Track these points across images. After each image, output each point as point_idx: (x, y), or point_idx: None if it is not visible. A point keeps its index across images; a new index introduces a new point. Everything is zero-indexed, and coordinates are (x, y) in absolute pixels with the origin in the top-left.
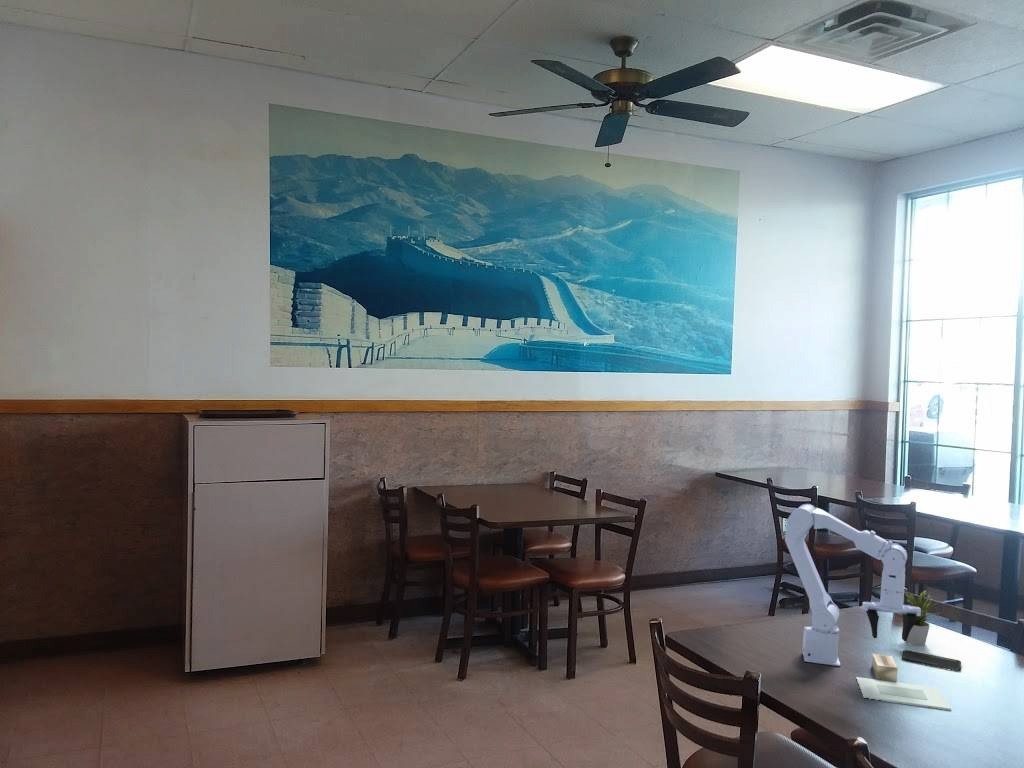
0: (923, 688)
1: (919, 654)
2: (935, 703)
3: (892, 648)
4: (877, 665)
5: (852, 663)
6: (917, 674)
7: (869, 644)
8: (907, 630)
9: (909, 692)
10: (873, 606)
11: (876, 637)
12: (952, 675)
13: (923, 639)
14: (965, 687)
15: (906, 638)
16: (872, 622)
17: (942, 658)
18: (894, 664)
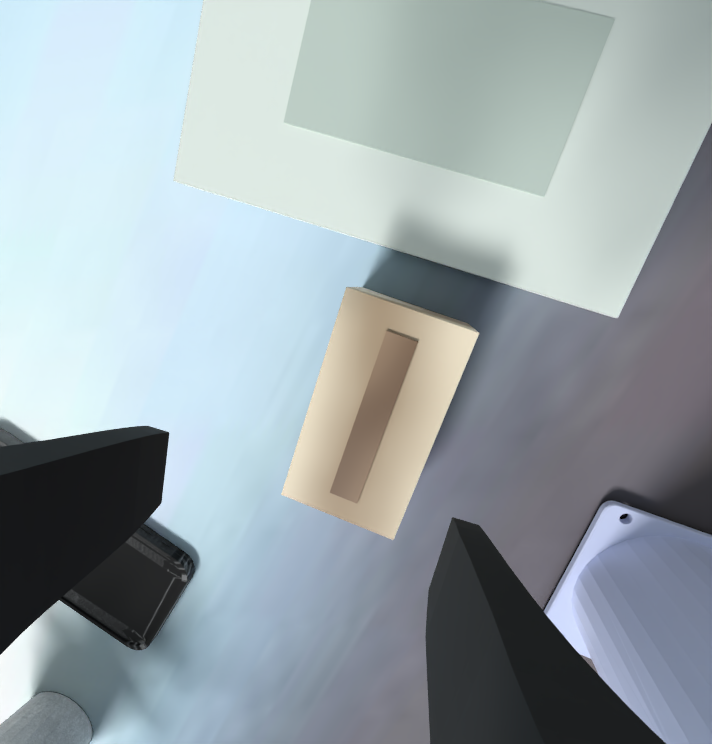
0: (262, 161)
1: (93, 601)
2: None
3: (181, 683)
4: (478, 332)
5: (490, 539)
6: (199, 392)
7: (266, 735)
8: (20, 460)
9: (387, 68)
10: None
11: (456, 523)
12: (38, 382)
13: (14, 719)
14: (31, 233)
15: (125, 432)
16: (661, 739)
17: None
18: (336, 352)
